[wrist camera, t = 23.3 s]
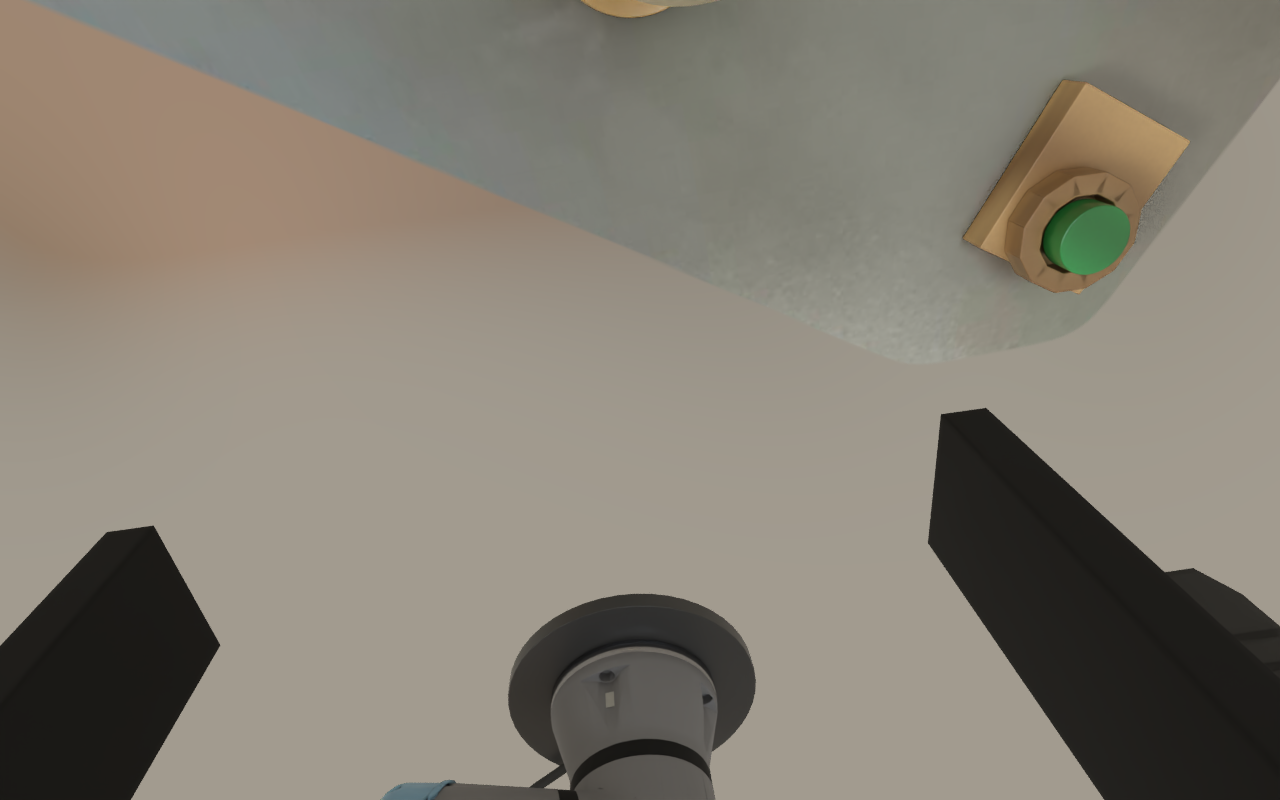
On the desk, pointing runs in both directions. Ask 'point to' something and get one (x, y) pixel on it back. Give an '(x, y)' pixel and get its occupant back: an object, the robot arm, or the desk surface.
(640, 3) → the desk lamp
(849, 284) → the desk surface
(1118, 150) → the power button base
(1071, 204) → the power button
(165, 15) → the desk surface
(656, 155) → the desk surface
